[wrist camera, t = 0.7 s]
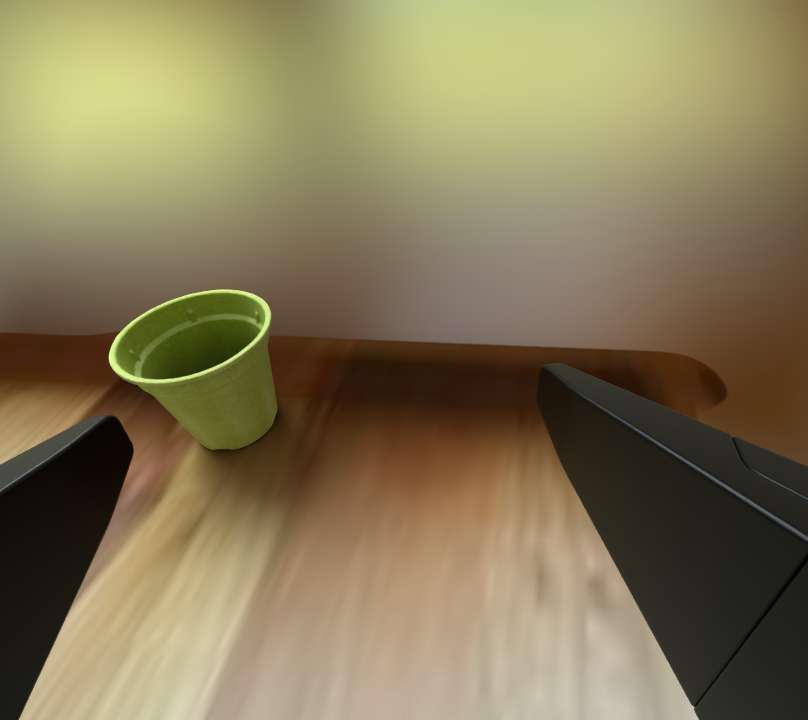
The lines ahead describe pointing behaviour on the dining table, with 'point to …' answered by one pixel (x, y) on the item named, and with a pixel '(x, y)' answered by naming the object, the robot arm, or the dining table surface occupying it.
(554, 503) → the dining table surface
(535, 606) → the dining table surface
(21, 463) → the robot arm
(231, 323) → the plant pot
